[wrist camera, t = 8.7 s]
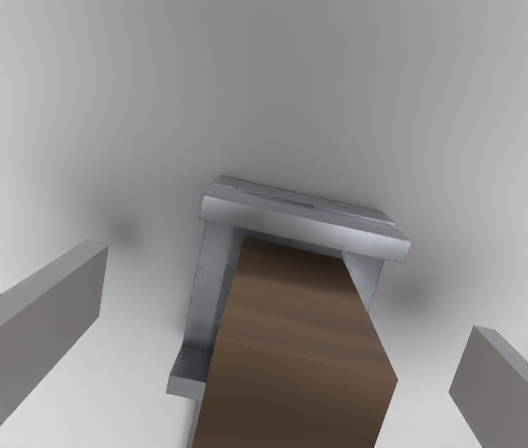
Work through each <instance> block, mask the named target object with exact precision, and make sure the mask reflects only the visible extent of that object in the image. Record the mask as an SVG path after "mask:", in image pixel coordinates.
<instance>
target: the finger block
mask: <svg viewBox="0 0 528 448" xmlns="http://www.w3.org/2000/svg"><path fill="white" fill-rule="evenodd" d="M397 381H398V379H397V377H396V374H395V372H394V370H393V368H392V366H391V363H390V361H389V359H388V357H387V355H386V352H385V350H384V348H383V346H382V344H381V341H380V339H379V337H378V335H377V333H376V330H375V328H374V326H373V324H372V322H371V319H370V317H369V315H368V313H367V311H366V308H365V306H364V304H363V302H362V300H361V298H360V295H359V293H358V291H357V289H356V287H355V284H354V282H353V280H352V278H351V276H350V273H349V271H348V269H347V267H346V265H345V262H344V260H343V259H341V258H336V257H332V256H328V255H323V254H319V253H315V252H310V251H306V250H302V249H297V248H293V247H289V246H284V245H280V244H276V243H271V242H267V241H263V240H258V239H254V238H250V237H245V238H244V241H243V245H242V249H241V252H240V256H239V259H238V263H237V266H236V270H235V274H234V277H233V281H232V284H231V288H230V291H229V295H228V299H227V302H226V306H225V309H224V313H223V316H222V320H221V323H220V327H219V331H218V334H217V338H216V342H215V346H214V351H213V355H212V360H211V364H210V369H209V373H208V377H207V382H206V386H205V391H204V395H203V400H202V404H201V408H200V413H199V417H198V422H197V426H196V431H195V435H194V440H193V444H192V448H374V446H375V443H376V440H377V438H378V435H379V432H380V429H381V426H382V424H383V421H384V418H385V415H386V412H387V409H388V407H389V404H390V401H391V398H392V395H393V393H394V390H395V387H396V384H397Z"/></svg>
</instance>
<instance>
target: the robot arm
mask: <svg viewBox="0 0 528 448" xmlns="http://www.w3.org/2000/svg"><path fill="white" fill-rule="evenodd" d="M107 252H108V245H107V244H103V243H98V242H94V241H89V240H86V241H84V242H82V243H81V244H79V245H78V246H76V247H75V248H73V249H71V250H70V251H68V252H67V253H65V254H64V255H62V256H61V257H59V258H57V259H56V260H54V261H53V262H51V263H50V264H48V265H46V266H45V267H43V268H42V269H40V270H39V271H37V272H36V273H34V274H32V275H31V276H29V277H28V278H26V279H25V280H23V281H21V282H20V283H18V284H17V285H15V286H14V287H12V288H11V289H9V290H7V291H6V292H4V293H3V294H0V426H1V425H2V424H3V423H4V421H5V420H6V419H7V418H8V417H9V416H10V415H11V414H12V413H13V411H14V410H15V409H16V408H17V407H18V406H19V405H20V404H21V403H22V401H23V400H24V399H25V398H26V397H27V396H28V395H29V394H30V393H31V391H32V390H33V389H34V388H35V387H36V386H37V385H38V384H39V383H40V381H41V380H42V379H43V378H44V377H45V376H46V375H47V374H48V373H49V371H50V370H51V369H52V368H53V367H54V366H55V365H56V364H57V363H58V361H59V360H60V359H61V358H62V357H63V356H64V355H65V354H66V353H67V351H68V350H69V349H70V348H71V347H72V346H73V345H74V344H75V343H76V341H77V340H78V339H79V338H80V337H81V336H82V335H83V334H84V333H85V331H86V330H87V329H88V328H89V327H90V326H91V325H92V324H93V323H94V321H95V320H96V319H97V318H98V317H99V311H100V304H101V296H102V289H103V282H104V274H105V267H106V259H107ZM449 394H450V396H451V397H452V399H453V401H454V402H455V404H456V405H457V407H458V409H459V410H460V412H461V413H462V415H463V417H464V418H465V420H466V422H467V423H468V425H469V426H470V428H471V430H472V431H473V433H474V434H475V436H476V438H477V439H478V441H479V443H480V444H481V446H482V447H483V448H528V362H527V361H526V360H525V359H524V358H523V357H522V356H521V355H520V354H519V353H518V352H517V351H516V350H515V349H514V348H513V347H512V346H511V345H510V344H509V343H508V342H507V341H506V340H505V339H504V338H503V337H502V336H501V335H500V334H499V333H498V332H497V331H496V330H494V329H489V328H485V327H480V326H475V325H474V326H473V329H472V331H471V334H470V337H469V339H468V342H467V345H466V347H465V350H464V352H463V355H462V358H461V360H460V363H459V366H458V368H457V371H456V373H455V376H454V379H453V381H452V384H451V387H450V389H449Z"/></svg>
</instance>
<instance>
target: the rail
mask: <svg viewBox="0 0 528 448" xmlns="http://www.w3.org/2000/svg"><path fill="white" fill-rule="evenodd" d="M199 218H200V219H205V220H206V224H205V229H204V235H203V240H202V245H201V250H200V255H199V261H198V266H197V271H196V276H195V281H194V286H193V292H192V297H191V302H190V307H189V312H188V318H187V323H186V328H185V333H184V338H183V343H182V346H181V349H180V351H179V354H178V356H177V358H176V361H175V363H174V365H173V368H172V370H171V373H170V375H169V380H168V385H167V391H166V393H167V394H172V395H177V396H181V397H186V398H191V399H196V400H197V403H196V408H195V412H194V417H193V422H192V427H191V431H190V436H189V441H188V446H187V448H192V444H193V440H194V435H195V431H196V426H197V422H198V417H199V413H200V408H201V404H202V400H203V395H204V391H205V386H206V382H207V377H208V373H209V369H210V364H211V360H212V355H213V351H214V346H215V342H216V338H217V334H218V331H219V327H220V323H221V320H222V316H223V313H224V309H225V306H226V302H227V299H228V295H229V291H230V288H231V284H232V281H233V277H234V274H235V270H236V266H237V263H238V259H239V256H240V252H241V249H242V245H243V241H244V238H245V237H250V238H254V239H258V240H263V241H267V242H271V243H276V244H280V245H284V246H289V247H293V248H297V249H302V250H306V251H310V252H315V253H319V254H323V255H328V256H332V257H336V258H341V259H343V260H344V262H345V265H346V267H347V269H348V271H349V273H350V276H351V278H352V280H353V282H354V284H355V287H356V289H357V291H358V293H359V295H360V298H361V300H362V302H363V304H364V306H365V308H366V311H367V313H368V310H369V307H370V304H371V300H372V297H373V294H374V291H375V288H376V284H377V281H378V278H379V275H380V271H381V268H382V265H383V262H384V259H385V260H389V261H394V262H398V263H403V264H405V262H406V259H407V255H408V252H409V249H410V246H411V243H412V242H411V241H410V240H409V239H408V238H407V237H406V236H405V235H404V234H403V233H402V232H400V231H399V230H398V229H397V228H396V227H395V223H394V222H393V221H392V220H391V219H390V218H389V217H388V216H386V215H385V214H384V213H383V212H379V211H375V210H371V209H366V208H362V207H357V206H353V205H348V204H344V203H339V202H335V201H331V200H326V199H322V198H317V197H313V196H308V195H304V194H299V193H295V192H291V191H286V190H282V189H277V188H273V187H268V186H264V185H259V184H255V183H250V182H246V181H242V180H237V179H233V178H228V177H224V176H220V177H219V178H218V179H217V180H216V181H215V182H214V183H213V186H212V187H211V188H210V189H209V190H208V191H207V192H206V193H205V194H204V195H203V199H202V205H201V210H200V215H199Z"/></svg>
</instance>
